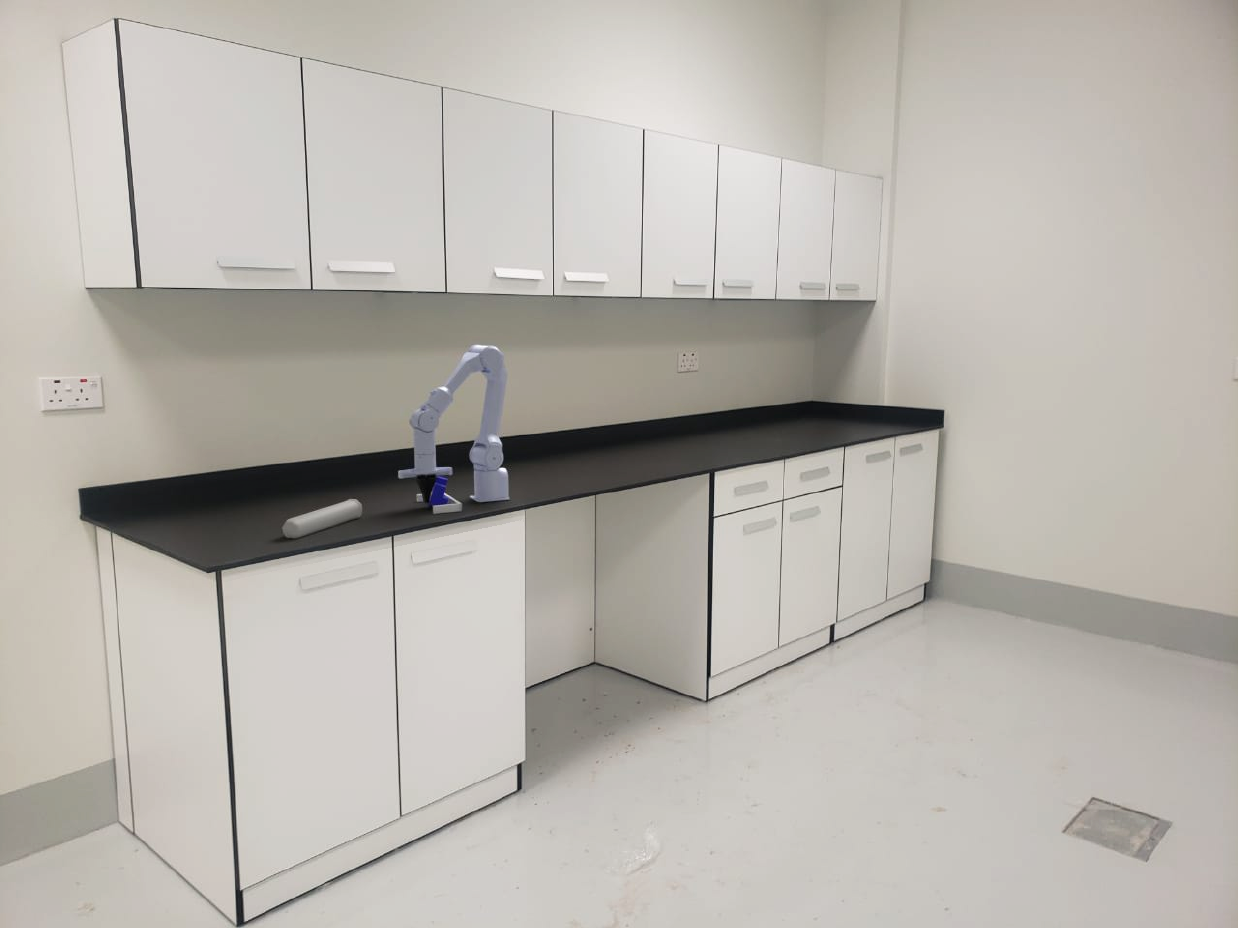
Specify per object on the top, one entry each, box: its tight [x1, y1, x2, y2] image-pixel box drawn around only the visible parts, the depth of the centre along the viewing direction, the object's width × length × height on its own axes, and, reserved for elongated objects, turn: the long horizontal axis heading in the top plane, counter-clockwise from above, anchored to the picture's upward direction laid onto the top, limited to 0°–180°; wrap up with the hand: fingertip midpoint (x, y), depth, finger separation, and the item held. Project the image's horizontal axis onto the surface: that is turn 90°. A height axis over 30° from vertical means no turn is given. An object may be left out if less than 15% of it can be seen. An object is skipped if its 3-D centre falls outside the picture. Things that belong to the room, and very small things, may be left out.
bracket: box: [416, 492, 463, 515], centre depth 244 cm, size 8×18×2 cm, turn 28°
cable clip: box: [428, 475, 449, 507], centre depth 245 cm, size 12×4×6 cm, turn 9°
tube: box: [281, 498, 363, 539], centre depth 219 cm, size 5×5×25 cm
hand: (426, 502), depth 243 cm, fingers closed
